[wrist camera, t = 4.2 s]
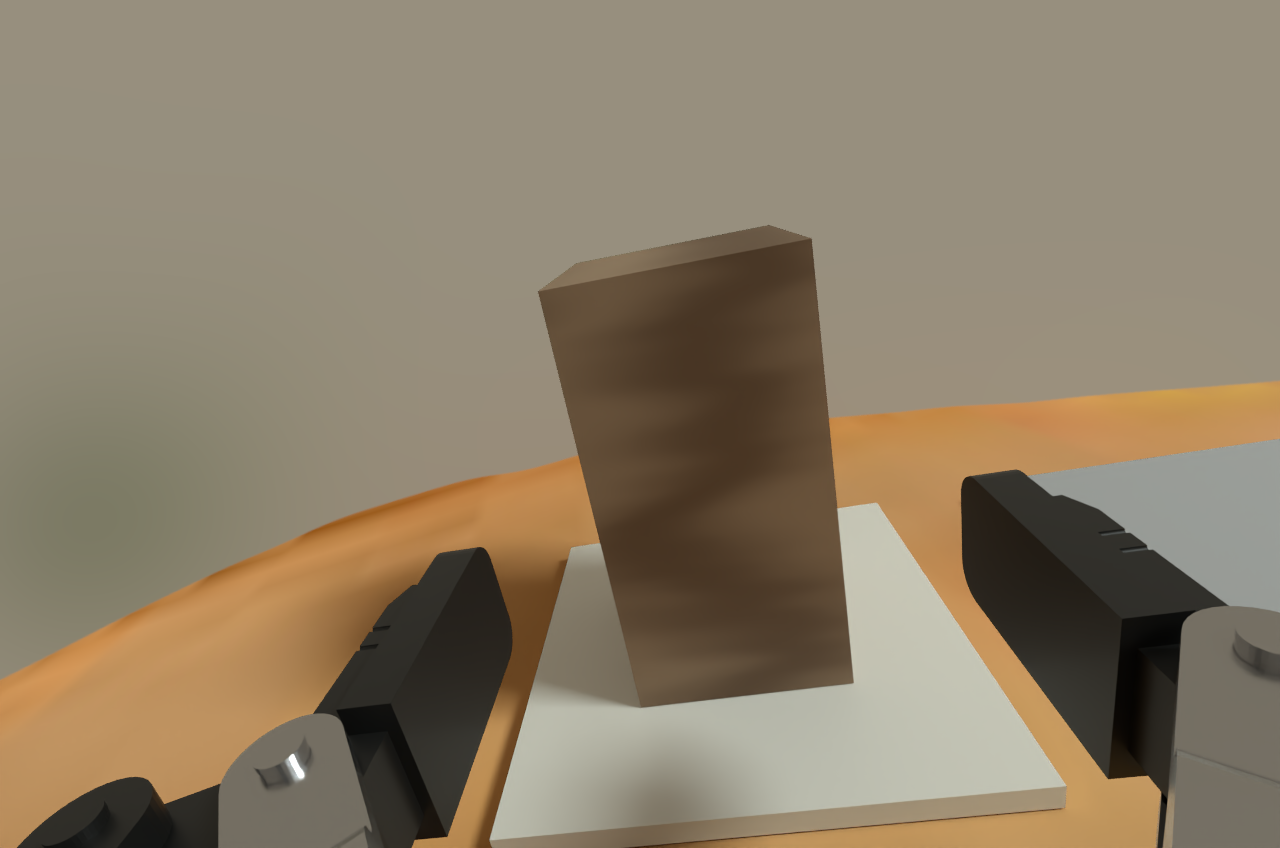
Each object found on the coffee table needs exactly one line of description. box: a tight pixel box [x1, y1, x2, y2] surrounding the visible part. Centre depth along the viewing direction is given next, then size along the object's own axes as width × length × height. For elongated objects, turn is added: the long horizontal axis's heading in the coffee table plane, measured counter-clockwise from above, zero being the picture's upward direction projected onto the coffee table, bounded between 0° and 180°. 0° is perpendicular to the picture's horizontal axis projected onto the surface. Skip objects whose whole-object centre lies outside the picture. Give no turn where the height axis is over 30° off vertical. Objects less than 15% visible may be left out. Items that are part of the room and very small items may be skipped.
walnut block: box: [538, 225, 854, 708], centre depth 17 cm, size 6×6×11 cm
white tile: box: [489, 503, 1067, 848], centre depth 19 cm, size 12×12×1 cm
